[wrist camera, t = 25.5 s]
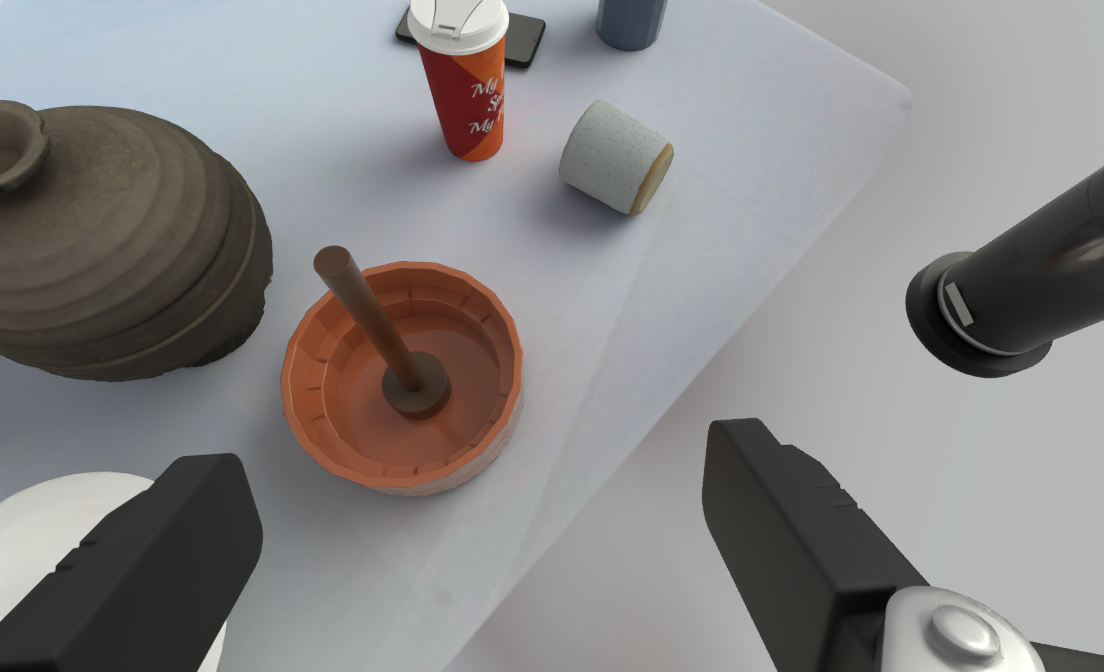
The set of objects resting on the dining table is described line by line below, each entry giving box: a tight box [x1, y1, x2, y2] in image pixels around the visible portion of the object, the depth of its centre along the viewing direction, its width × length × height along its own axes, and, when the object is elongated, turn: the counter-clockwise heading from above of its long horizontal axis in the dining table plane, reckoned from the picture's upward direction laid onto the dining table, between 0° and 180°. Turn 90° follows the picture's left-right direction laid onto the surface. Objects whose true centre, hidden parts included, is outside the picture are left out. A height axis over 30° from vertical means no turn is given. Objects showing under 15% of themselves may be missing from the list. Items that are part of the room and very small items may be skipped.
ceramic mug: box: [559, 100, 674, 215], centre depth 47 cm, size 11×8×8 cm
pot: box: [0, 100, 273, 382], centre depth 35 cm, size 18×18×20 cm
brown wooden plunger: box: [314, 246, 451, 420], centre depth 32 cm, size 5×5×20 cm
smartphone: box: [395, 6, 546, 68], centre depth 57 cm, size 7×1×15 cm
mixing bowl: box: [280, 261, 524, 497], centre depth 39 cm, size 16×16×6 cm
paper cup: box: [407, 0, 509, 161], centre depth 45 cm, size 8×8×14 cm
